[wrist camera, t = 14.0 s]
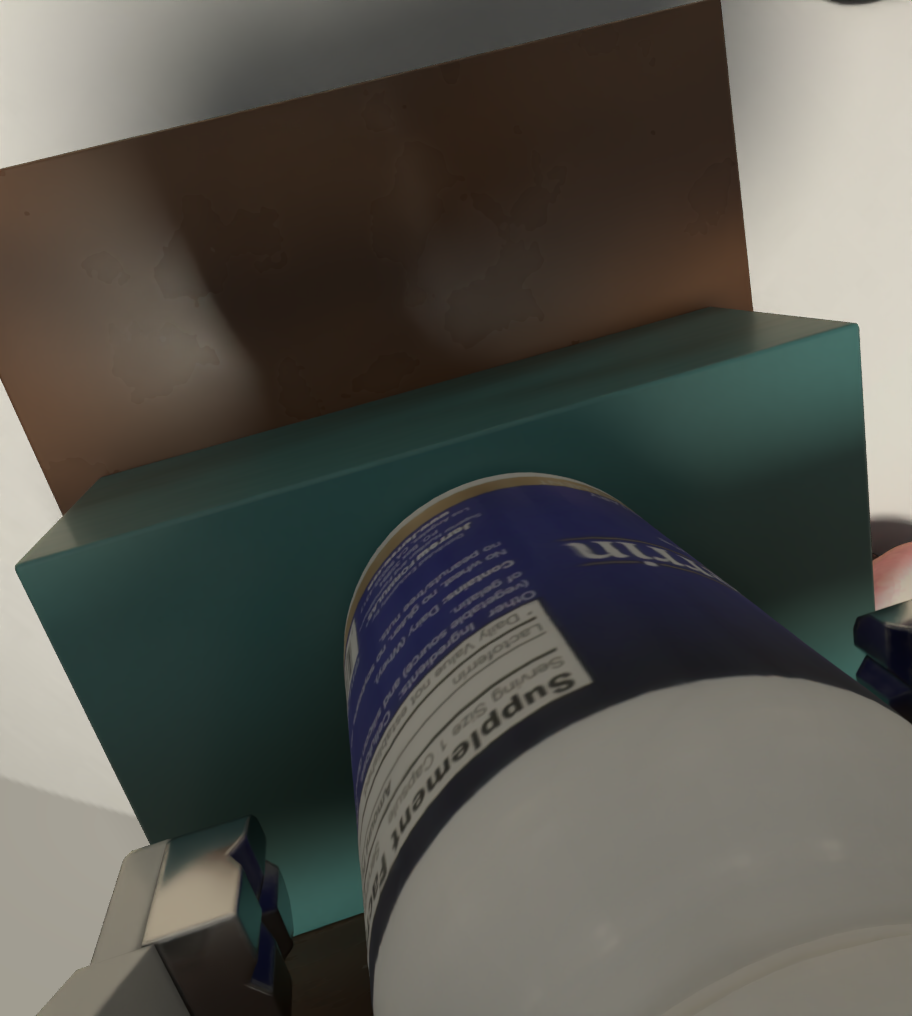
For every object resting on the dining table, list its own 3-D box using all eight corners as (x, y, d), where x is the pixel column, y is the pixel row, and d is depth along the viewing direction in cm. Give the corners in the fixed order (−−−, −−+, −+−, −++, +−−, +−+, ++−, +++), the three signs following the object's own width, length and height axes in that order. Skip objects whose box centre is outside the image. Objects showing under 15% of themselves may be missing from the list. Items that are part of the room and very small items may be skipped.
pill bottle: (724, 584, 14) (1603, 1268, 4) (523, 812, 14) (912, 1810, 5) (486, 390, 12) (1139, 873, 3) (270, 664, 13) (157, 1817, 3)
